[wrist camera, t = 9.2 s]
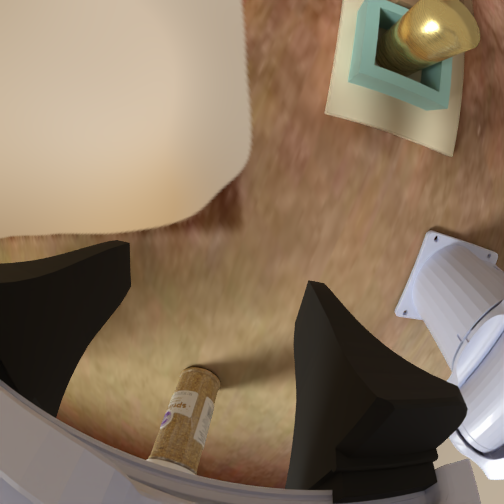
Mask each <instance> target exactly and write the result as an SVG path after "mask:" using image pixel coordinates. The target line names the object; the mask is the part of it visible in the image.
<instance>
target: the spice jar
mask: <svg viewBox="0 0 504 504" xmlns="http://www.w3.org/2000/svg"><path fill="white" fill-rule="evenodd" d="M219 388H220V381H219V379H218V378H217V376H215V375H214V374H213V373H212V372H210V371H208V370H206V369H202V368H198V367H190V368H187V369H184V370H183V371H182V372H181V374H180V380H179V382H178V385H177V387H176V390H175V392H174V394H173V396H172V398H171V401H170V403H169V406H168V408H167V411H166V414H165V416H164V419H163V421H162V424H161V427H160V431H159V434H158V436H157V439H156V442H155V444H154V447H153V450H152V452H151V455H150V456H149V457H148V458H149V459H147V460H146V461H149V462H152V463H155V464H158V465H161V466H164V467H168V468H171V469H174V470H178V471H181V472H185V473H189V474H193V475H196V474H197V467H198V464H199V460H200V457H201V453H202V450H203V448H204V445H205V441H206V437H207V433H208V429H209V425H210V422H211V418H212V414H213V410H214V403H215V399H216V395H217V392H218V390H219Z"/></svg>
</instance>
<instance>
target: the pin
mask: <svg viewBox="0 0 504 504" xmlns="http://www.w3.org/2000/svg"><path fill="white" fill-rule="evenodd" d="M479 42H480V31H479V27H478V25H477V23H476V20H475V19H474V17H473V15H472V14H471V13H470V11H469V10H468V9H467V8H466V7H465V6H464V5H463V4H462V3H461V2H460V1H459V0H419V1H418V2H417V3H416V4H415V5H414V6H413V7H412V8H411V9H409V10H408V11H407V12H406V13H405V14H404V15H403V16H402V17H401V18H400V19H399V20H398V21H397V22H396V23H395V24H394V25H393V26H392V27H391V28H390V29H389V30H388V31H387V32H385V33H384V34H383V35H382V36H381V37H380V38H379V39H378V40H377V48H376V56H375V60H376V62H377V63H378V65H379V66H380V67H381V68H384V69H387V70H390V71H392V72H395V73H397V74H400V75H402V76H405V77H407V76H409V75H411V74H413V73H415V72H418V71H420V70H422V69H424V68H426V67H429V66H431V65H433V64H436V63H438V62H440V61H443V60H445V59H448V58H450V57H452V56H455V55H457V54H460V53H463V52H465V51H468V50H470V49H473V48H475V47H477V46H478V44H479Z"/></svg>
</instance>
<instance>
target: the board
mask: <svg viewBox="0 0 504 504" xmlns="http://www.w3.org/2000/svg"><path fill="white" fill-rule="evenodd" d="M363 2H364V0H343V1H342V8H341V16H340V23H339V30H338V37H337V44H336V50H335V57H334V63H333V69H332V75H331V81H330V86H329V92H328V97H327V103H326V108H325V114H327V115H331V116H335V117H339V118H342V119H346V120H350V121H353V122H356V123H360V124H363V125H366V126H370V127H373V128H376V129H379V130H382V131H385V132H388V133H391V134H393V135H396V136H399V137H402V138H404V139H407V140H410V141H412V142H415V143H417V144H420V145H422V146H425V147H427V148H429V149H432V150H434V151H436V152H439V153H441V154H443V155H445V156H450V157H453V152H454V147H455V141H456V136H457V130H458V124H459V117H460V109H461V100H462V90H463V77H464V52H463V53H460V54H457V55H455V56H453V57H452V75H451V87H450V96H449V105H448V109H439V110H429V111H426V110H424V109H421V108H419V107H417V106H414V105H412V104H410V103H407V102H405V101H402V100H400V99H397V98H394V97H392V96H389V95H386V94H383V93H381V92H378V91H375V90H372V89H369V88H366V87H362V86H359V85H356V84H353V83H349V82H348V77H349V71H350V64H351V58H352V51H353V44H354V36H355V29H356V20H357V11H358V10H359V8H360V6H361V5H362V3H363ZM387 31H388V30H386V29H383V28H381V27H379V29H378V39H379V38H380V37H381V36H382V35H383V34H384V33H385V32H387ZM378 39H377V40H378ZM374 65H376V66H379V65H378V63H377V62H376V60H375V63H374ZM379 67H380V66H379ZM421 73H422V70H420V71H418V72H415V73H413V74H411V75H409V76H407V78H410V79H412V80H414V81H417V82H419V83H420V82H421Z"/></svg>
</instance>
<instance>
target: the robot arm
mask: <svg viewBox="0 0 504 504" xmlns="http://www.w3.org/2000/svg"><path fill="white" fill-rule="evenodd" d="M436 236H437V239H436V240H434V238H435V237H436ZM488 254H489V255H488ZM497 259H498V254H497V253H496V252H494V251H491V250H489V249H486V248H483V247H480V246H478V245H475V244H472V243H469V242H466V241H463V240H460V239H457V238H454V237H451V236H448V235H445V234H442V233H439V232H436V231H433V230H430V231H428V232H427V233H426V235H425V238H424V241H423V244H422V246H421V249H420V252H419V254H418V257H417V260H416V262H415V265H414V267H413V270H412V272H411V275H410V277H409V279H408V282H407V284H406V286H405V289H404V291H403V293H402V296H401V298H400V300H399V302H398V304H397V306H396V309H395V314H396V315H397V316H398V317H405V318H412V319H420V320H423V321H424V323H425V324H426V326H427V328H428V329H429V331H430V333H431V334H432V336H433V338H434V340H435V342H436V343H437V345H438V347H439V349H440V351H441V352H442V354H443V356H444V358H445V360H446V362H447V364H448V366H449V367H450V369H451V371H452V374H451V376H450V377H449V379H448V380H447V381H445V380H442V379H440V378H438V377H436V376H433V375H431V374H429V373H427V372H426V371H424V370H422V369H420V368H418V367H416V366H415V365H413V364H411V363H410V362H408V361H406V360H405V359H403V358H402V357H401V356H399V355H398V354H396V353H395V352H393V351H392V350H390V349H389V348H388V347H386V346H385V345H384V344H383V343H381V342H380V341H379V340H378V339H377V338H376V337H374V336H373V335H372V334H371V333H370V332H369V331H368V330H366V329H365V328H364V327H363V326H362V325H361V324H360V323H359V322H358V321H357V320H356V319H355V317H354V316H353V315H352V314H351V313H350V312H349V311H348V310H347V309H346V308H345V306H344V305H343V304H342V303H341V302H340V301H339V300H338V298H337V297H336V296H335V295H334V294H333V292H332V291H331V290H330V289H329V288H328V287H327V286H326V285H325V284H324V283H320V282H315V281H309V280H308V284H307V287H306V290H305V293H304V297H303V300H302V303H301V306H300V309H299V313H298V316H297V319H296V322H295V331H294V359H295V375H296V414H295V426H294V435H293V444H292V451H291V458H290V465H289V471H288V476H287V482H286V487H285V489H278V488H267V487H258V486H250V485H243V484H237V483H231V482H225V481H220V480H215V479H210V478H205V477H201V476H197V475H193V474H189V473H185V472H181V471H178V470H174V469H171V468H168V467H164V466H161V465H158V464H155V463H152V462H149V461H146V460H144V459H141V458H138V457H135V456H133V455H130V454H128V453H125V452H123V451H120V450H118V449H116V448H113V447H111V446H109V445H106V444H104V443H102V442H100V441H98V440H96V439H94V438H91V437H89V436H87V435H85V434H84V433H82V432H80V431H78V430H76V429H74V428H72V427H70V426H69V425H67V424H65V423H63V422H61V421H60V420H58V419H56V416H57V413H58V410H59V406H60V403H61V400H62V398H63V395H64V393H65V390H66V388H67V385H68V383H69V381H70V378H71V376H72V374H73V372H74V370H75V368H76V366H77V364H78V362H79V361H80V359H81V357H82V355H83V353H84V352H85V350H86V348H87V346H88V345H89V344H90V342H91V341H92V339H93V338H94V337H95V335H96V334H97V333H98V331H99V330H100V329H101V328H102V326H103V325H104V324H105V323H106V321H107V320H108V319H109V318H110V316H111V315H112V314H113V313H114V311H115V310H116V309H117V308H118V306H119V305H120V304H121V302H122V301H123V299H124V297H125V296H126V294H127V292H128V290H129V289H130V287H131V276H130V243H127V242H123V241H118V240H116V241H109V242H104V243H100V244H97V245H93V246H89V247H86V248H83V249H79V250H76V251H72V252H68V253H64V254H61V255H57V256H53V257H49V258H44V259H39V260H33V261H26V262H16V263H5V264H0V504H481V502H480V497H479V493H478V489H477V485H476V481H475V478H474V474H473V471H472V467H471V464H470V461H469V459H464V460H461V461H458V462H454V463H450V464H447V465H444V466H441V467H439V468H437V469H434V465H433V462H434V461H435V460H437V459H438V454H437V450H436V448H437V447H438V446H439V445H441V444H442V443H443V442H444V441H445V440H446V439H447V438H448V437H449V439H450V440H451V442H452V443H453V445H454V446H455V447H456V449H457V450H458V451H459V452H460V453H462V454H463V455H465V456H467V457H469V458H470V459H471V460H473V461H474V462H475V463H476V464H477V465H478V466H479V467H480V468H481V469H482V470H483V471H484V473H485V474H486V476H487V478H488V479H491V480H504V271H502V270H501V269H500V268H499V267H498V266H496V265H495V264H496V262H497ZM406 310H407V311H406ZM404 311H406V312H405V313H403V312H404Z"/></svg>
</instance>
